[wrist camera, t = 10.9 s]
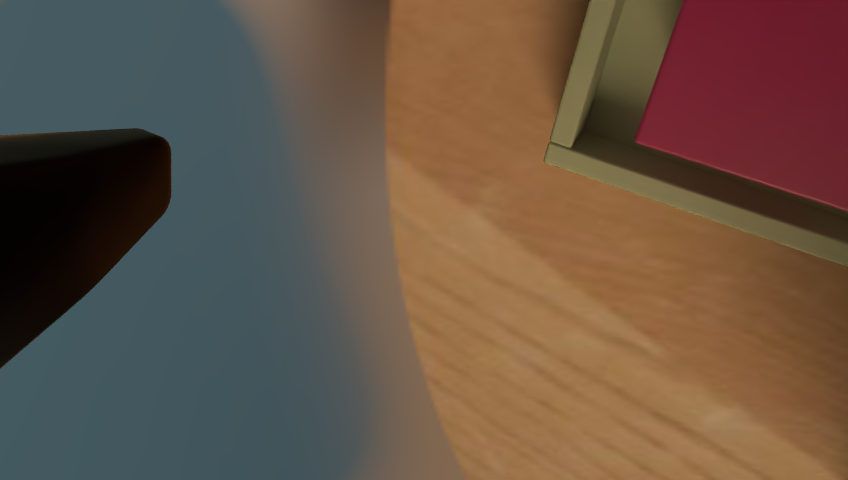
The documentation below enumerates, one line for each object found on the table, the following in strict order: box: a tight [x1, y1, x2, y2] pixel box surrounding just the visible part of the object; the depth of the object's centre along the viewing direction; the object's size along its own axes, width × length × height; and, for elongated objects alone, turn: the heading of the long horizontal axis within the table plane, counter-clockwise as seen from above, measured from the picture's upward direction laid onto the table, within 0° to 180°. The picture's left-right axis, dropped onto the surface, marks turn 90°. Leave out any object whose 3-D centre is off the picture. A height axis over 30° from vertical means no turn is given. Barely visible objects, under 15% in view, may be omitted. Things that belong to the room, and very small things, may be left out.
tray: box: [544, 0, 848, 267], centre depth 17 cm, size 10×9×2 cm
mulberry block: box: [635, 0, 848, 212], centre depth 15 cm, size 5×5×5 cm
